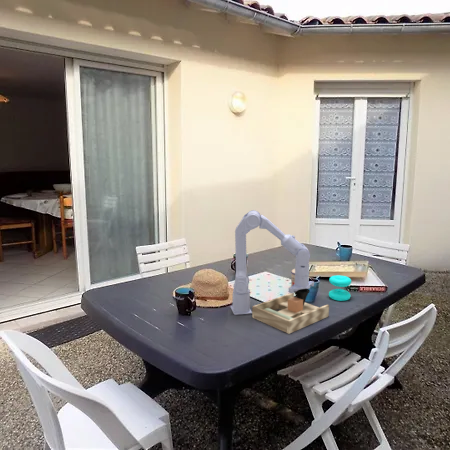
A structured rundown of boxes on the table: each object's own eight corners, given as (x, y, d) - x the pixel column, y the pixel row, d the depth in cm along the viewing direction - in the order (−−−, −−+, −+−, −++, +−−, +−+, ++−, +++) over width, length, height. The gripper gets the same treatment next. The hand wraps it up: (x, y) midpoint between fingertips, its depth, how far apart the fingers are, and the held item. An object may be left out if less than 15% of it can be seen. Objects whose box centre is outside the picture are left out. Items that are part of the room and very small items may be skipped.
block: (295, 312, 161) (296, 302, 160) (287, 309, 164) (287, 299, 164) (302, 309, 164) (303, 299, 163) (294, 306, 167) (294, 296, 166)
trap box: (288, 333, 147) (289, 321, 147) (252, 317, 163) (252, 306, 162) (328, 316, 163) (329, 305, 162) (291, 303, 178) (292, 292, 177)
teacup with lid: (287, 287, 199) (287, 265, 197) (299, 284, 204) (300, 262, 202) (304, 294, 189) (305, 271, 187) (317, 290, 195) (317, 268, 193)
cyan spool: (347, 282, 176) (326, 278, 182) (346, 303, 178) (325, 298, 183) (354, 276, 184) (333, 273, 190) (353, 296, 186) (332, 292, 191)
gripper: (298, 280, 156) (297, 312, 159) (320, 273, 166) (319, 303, 168) (284, 276, 162) (284, 307, 164) (306, 269, 171) (306, 299, 173)
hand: (301, 305), depth 166 cm, fingers closed
